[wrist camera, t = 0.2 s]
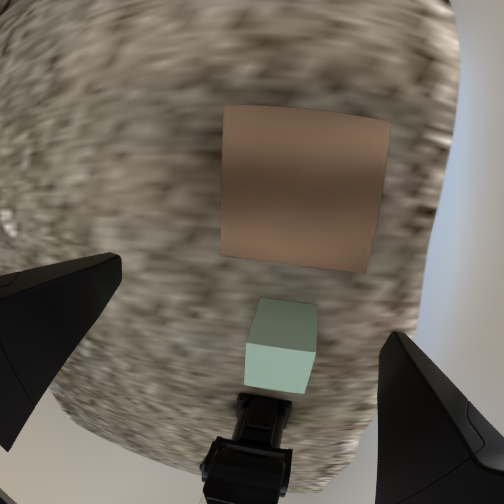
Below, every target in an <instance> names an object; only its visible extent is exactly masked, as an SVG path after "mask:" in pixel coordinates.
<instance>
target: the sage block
mask: <svg viewBox="0 0 504 504" xmlns="http://www.w3.org/2000/svg"><path fill="white" fill-rule="evenodd" d="M316 340H317V305H312V304H304V303H296V302H289V301H281V300H274V299H267V298H260V301H259V305H258V308H257V311H256V314H255V317H254V320H253V323H252V326H251V329H250V332H249V335H248V338H247V342H246V357H245V379H244V385H247V386H253V387H259V388H265V389H271V390H278V391H285V392H292V393H300V394H304V393H305V390H306V387H307V383H308V380H309V376H310V373H311V369H312V366H313V362H314V358H315V354H316Z"/></svg>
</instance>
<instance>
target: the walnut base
mask: <svg viewBox="0 0 504 504" xmlns="http://www.w3.org/2000/svg"><path fill="white" fill-rule="evenodd" d="M390 125H391V122H388V121H384V120H379V119H373V118H368V117H362V116H356V115H350V114H344V113H337V112H329V111H321V110H312V109H302V108H291V107H276V106H255V105H224V113H223V140H222V175H221V255H225V256H233V257H240V258H248V259H255V260H263V261H270V262H278V263H286V264H293V265H301V266H309V267H316V268H324V269H332V270H340V271H348V272H355V273H363V274H366V270H367V266H368V261H369V257H370V253H371V248H372V244H373V239H374V234H375V229H376V224H377V219H378V214H379V208H380V203H381V197H382V191H383V184H384V177H385V170H386V163H387V155H388V146H389V136H390Z"/></svg>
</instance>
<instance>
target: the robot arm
mask: <svg viewBox="0 0 504 504" xmlns="http://www.w3.org/2000/svg"><path fill="white" fill-rule="evenodd" d="M121 280H122V261H121V257H120V256H119V255H117V254H114V253H111V252H108V253H103V254H98V255H93V256H89V257H84V258H79V259H74V260H69V261H65V262H60V263H55V264H51V265H46V266H42V267H37V268H33V269H28V270H24V271H22V272H20V271H19V272H15V273H10V274H6V275H1V276H0V445H1V446H2V447H3V448H4V449H5V450H6V451H7V452H8V451H9V450H10V449H11V447H12V445H13V443H14V442H15V440H16V438H17V436H18V435H19V433H20V431H21V430H22V428H23V426H24V424H25V423H26V421H27V420H28V418H29V416H30V415H31V413H32V411H33V410H34V408H35V406H36V405H37V403H38V402H39V400H40V399H41V397H42V396H43V394H44V393H45V391H46V389H47V388H48V386H49V385H50V384H51V382H52V381H53V379H54V378H55V376H56V375H57V373H58V372H59V370H60V369H61V368H62V366H63V365H64V363H65V362H66V360H67V359H68V358H69V356H70V355H71V353H72V352H73V351H74V349H75V348H76V347H77V345H78V344H79V343H80V341H81V340H82V338H83V337H84V336H85V334H86V333H87V332H88V331H89V329H90V328H91V327H92V325H93V324H94V323H95V321H96V320H97V319H98V317H99V316H100V314H101V313H102V311H103V310H104V308H105V307H106V305H107V304H108V302H109V300H110V299H111V297H112V296H113V294H114V293H115V291H116V289H117V288H118V286H119V285H120V283H121ZM377 405H378V464H377V484H376V498H375V504H504V437H503V436H502V435H501V434H500V433H499V432H498V431H497V430H496V429H495V428H494V427H493V426H492V425H491V424H490V423H489V422H488V421H487V420H486V419H485V418H484V417H483V415H481V413H480V412H479V411H478V410H477V409H476V408H475V407H474V406H473V404H472V403H471V402H470V401H468V399H467V398H466V397H465V396H464V395H463V394H462V392H460V390H459V389H458V388H457V387H456V386H455V385H454V384H453V383H452V382H451V380H450V379H449V378H448V377H447V376H446V375H445V374H444V373H443V372H442V371H441V370H440V369H439V368H438V367H437V366H436V365H435V364H434V363H433V362H432V360H431V359H429V357H428V356H427V355H426V354H425V353H424V352H423V351H422V350H421V349H420V348H419V347H418V346H417V345H416V344H415V343H414V342H413V341H412V340H411V339H410V338H409V337H408V336H407V335H406V334H405V333H402V332H398V331H393V332H392V333H391V334H390V335H389V337H388V339H387V340H386V342H385V344H384V345H383V347H382V349H381V351H380V354H379V373H378V391H377ZM291 406H292V403H291V402H289V401H282V400H275V399H269V398H262V397H256V396H251V395H245V394H239V395H238V398H237V423H236V426H235V429H234V432H233V436H232V439H231V440H230V439H225V438H222V437H220V436H217V438H216V440H215V441H213V442H212V444H211V447H210V450H209V452H208V454H207V455H206V457H205V458H204V460H203V461H202V463H201V464H200V467H199V468H200V470H201V472H202V482H205V484H204V487H203V493H204V496H205V499H206V503H207V504H277V503H278V499H279V497H285V494H286V491H287V488H288V484H289V479H290V471H291V462H292V452H293V449H281V448H280V444H281V439H282V433H283V429H285V428H286V424H287V421H288V417H289V414H290V410H291ZM0 504H17V503H15V502H14V501H13V500H12V499H11V498H10V497H9V496H8V495H7V494H6V493H5V492H4V491H3V490H2V489H1V488H0Z"/></svg>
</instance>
